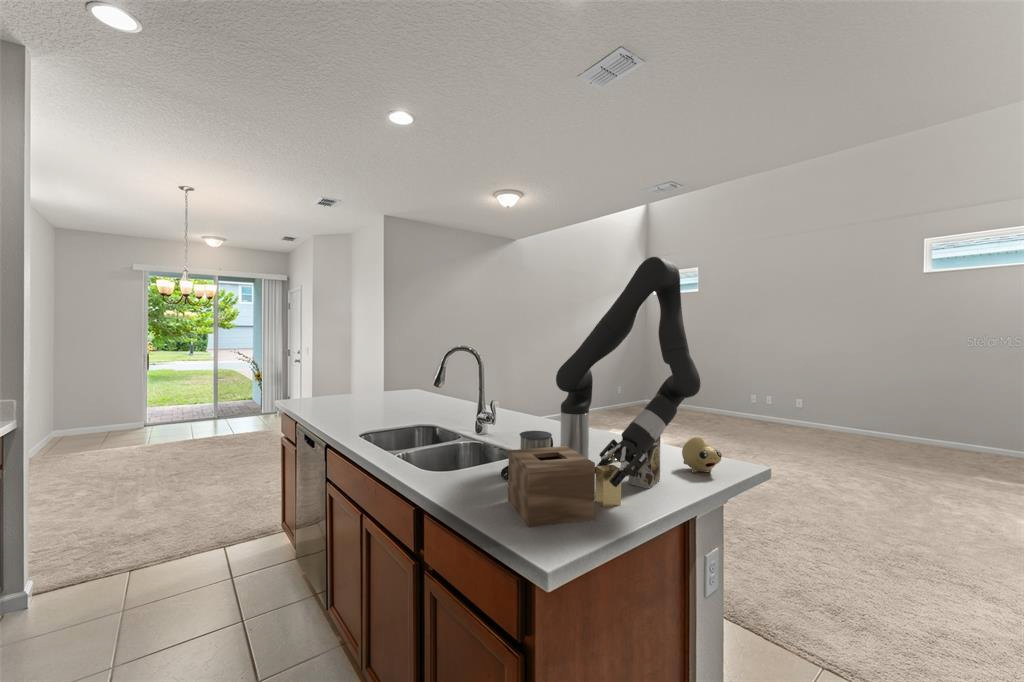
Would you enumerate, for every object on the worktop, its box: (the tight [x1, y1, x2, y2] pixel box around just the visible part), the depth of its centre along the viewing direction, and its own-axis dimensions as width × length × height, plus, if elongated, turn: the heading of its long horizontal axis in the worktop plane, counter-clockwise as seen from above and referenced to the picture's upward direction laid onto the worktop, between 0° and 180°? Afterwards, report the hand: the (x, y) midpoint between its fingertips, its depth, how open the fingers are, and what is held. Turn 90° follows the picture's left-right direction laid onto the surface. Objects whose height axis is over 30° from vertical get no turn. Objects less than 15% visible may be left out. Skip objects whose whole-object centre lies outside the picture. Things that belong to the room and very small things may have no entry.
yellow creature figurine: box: [681, 436, 723, 473], centre depth 136 cm, size 10×12×11 cm
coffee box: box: [628, 436, 661, 489], centre depth 126 cm, size 9×6×16 cm
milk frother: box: [500, 430, 554, 481], centre depth 125 cm, size 14×16×15 cm
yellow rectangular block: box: [595, 464, 622, 508], centre depth 110 cm, size 4×5×9 cm
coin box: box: [507, 446, 596, 528], centre depth 105 cm, size 16×16×13 cm
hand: (603, 479), depth 110 cm, fingers open, 8 cm apart
